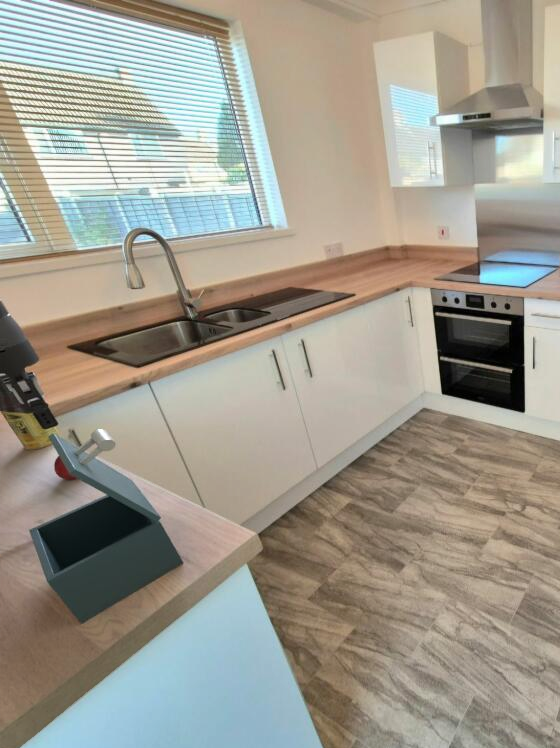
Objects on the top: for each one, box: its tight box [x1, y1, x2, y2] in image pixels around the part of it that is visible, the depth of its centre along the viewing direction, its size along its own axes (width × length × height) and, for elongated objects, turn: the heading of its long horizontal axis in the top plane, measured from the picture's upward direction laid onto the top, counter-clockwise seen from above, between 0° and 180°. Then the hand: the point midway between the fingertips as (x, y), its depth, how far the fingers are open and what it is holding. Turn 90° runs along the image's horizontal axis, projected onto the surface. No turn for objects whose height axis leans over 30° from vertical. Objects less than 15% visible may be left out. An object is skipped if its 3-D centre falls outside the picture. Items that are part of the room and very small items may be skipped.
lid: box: [48, 428, 162, 522], centre depth 65 cm, size 14×16×5 cm
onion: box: [53, 455, 78, 481], centre depth 88 cm, size 6×6×8 cm
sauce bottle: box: [0, 374, 62, 451], centre depth 97 cm, size 7×6×20 cm
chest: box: [28, 494, 184, 625], centre depth 67 cm, size 13×16×9 cm
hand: (47, 420), depth 83 cm, fingers open, 8 cm apart
